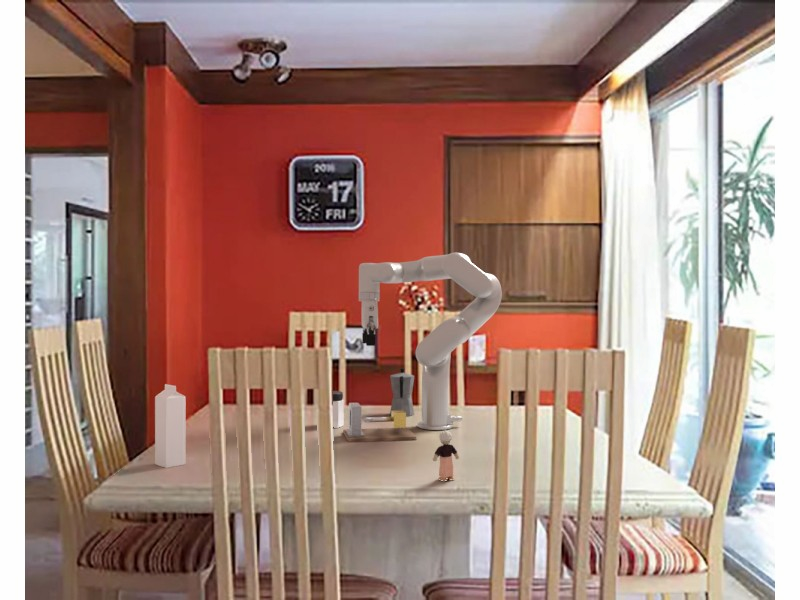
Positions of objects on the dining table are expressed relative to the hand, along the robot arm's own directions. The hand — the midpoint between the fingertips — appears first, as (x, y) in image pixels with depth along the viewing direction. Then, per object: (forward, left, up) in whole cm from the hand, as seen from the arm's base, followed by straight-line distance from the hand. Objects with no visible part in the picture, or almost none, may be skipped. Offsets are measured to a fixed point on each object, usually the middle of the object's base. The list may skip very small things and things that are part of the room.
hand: (368, 344), depth 264 cm
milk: (+63, +52, -28) cm, 86 cm away
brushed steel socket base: (+8, +24, -28) cm, 38 cm away
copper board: (0, +24, -28) cm, 37 cm away
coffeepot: (-15, -13, -28) cm, 35 cm away
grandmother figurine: (-8, +80, -28) cm, 85 cm away
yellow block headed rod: (-2, +24, -25) cm, 35 cm away
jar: (+14, +5, -28) cm, 32 cm away
